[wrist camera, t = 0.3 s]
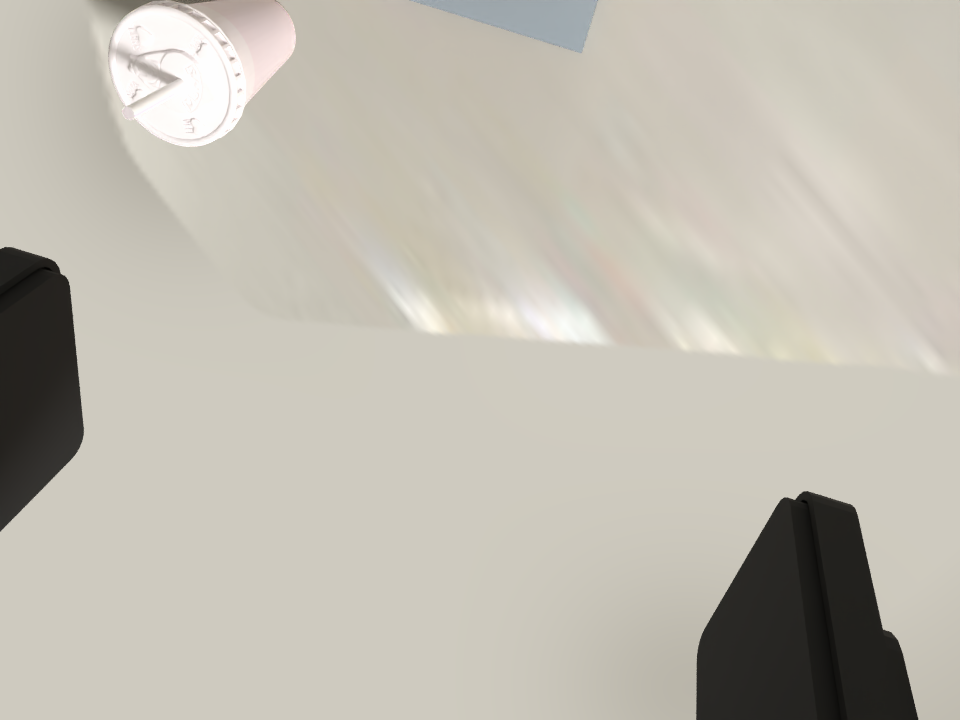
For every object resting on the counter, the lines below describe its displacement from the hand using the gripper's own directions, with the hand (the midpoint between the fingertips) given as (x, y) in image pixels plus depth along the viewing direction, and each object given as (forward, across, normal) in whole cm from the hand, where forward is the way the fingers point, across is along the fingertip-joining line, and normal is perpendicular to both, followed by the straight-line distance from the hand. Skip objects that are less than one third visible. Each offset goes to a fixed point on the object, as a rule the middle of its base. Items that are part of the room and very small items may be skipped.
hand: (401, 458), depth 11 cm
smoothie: (+36, +18, +7) cm, 41 cm away
